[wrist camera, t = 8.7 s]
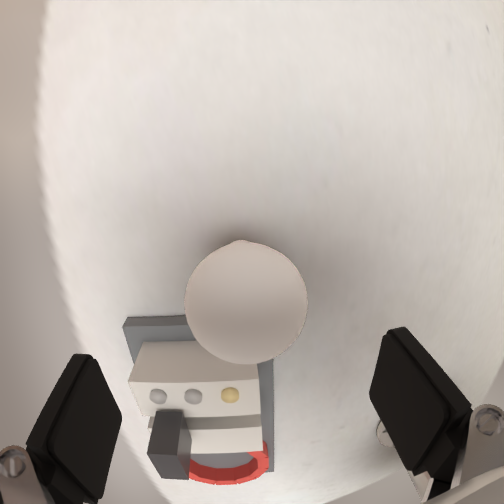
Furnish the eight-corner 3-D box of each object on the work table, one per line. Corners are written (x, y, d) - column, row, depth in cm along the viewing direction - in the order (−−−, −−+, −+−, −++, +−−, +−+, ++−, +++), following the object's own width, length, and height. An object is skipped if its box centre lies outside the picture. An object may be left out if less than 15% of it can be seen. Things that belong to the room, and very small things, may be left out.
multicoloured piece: (272, 462, 32) (279, 505, 25) (181, 466, 31) (178, 507, 25) (269, 309, 24) (282, 363, 18) (127, 317, 23) (100, 368, 17)
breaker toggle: (194, 409, 23) (188, 479, 16) (172, 409, 23) (161, 478, 16) (187, 381, 22) (177, 455, 15) (163, 381, 22) (146, 453, 15)
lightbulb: (262, 198, 21) (294, 243, 11) (292, 271, 23) (337, 360, 13) (185, 233, 22) (148, 305, 11) (220, 301, 24) (217, 404, 13)
